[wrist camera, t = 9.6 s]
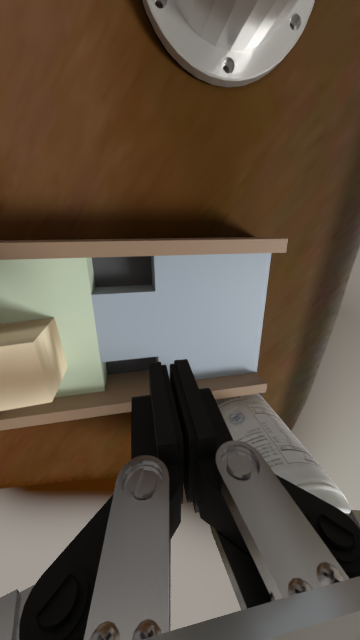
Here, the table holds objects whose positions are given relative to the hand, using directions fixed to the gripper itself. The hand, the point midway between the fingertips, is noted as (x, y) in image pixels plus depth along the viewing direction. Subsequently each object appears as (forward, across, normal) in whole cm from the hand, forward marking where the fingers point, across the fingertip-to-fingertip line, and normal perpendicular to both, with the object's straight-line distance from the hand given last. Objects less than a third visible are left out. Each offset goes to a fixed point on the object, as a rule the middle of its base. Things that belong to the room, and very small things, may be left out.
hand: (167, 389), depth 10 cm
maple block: (+10, +10, +3) cm, 14 cm away
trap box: (+13, +2, +2) cm, 14 cm away
